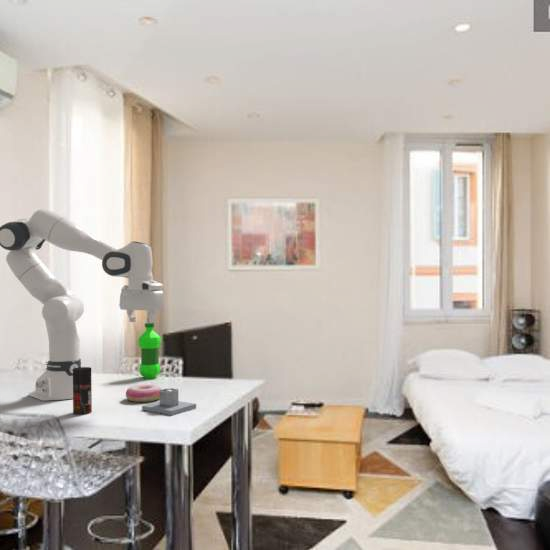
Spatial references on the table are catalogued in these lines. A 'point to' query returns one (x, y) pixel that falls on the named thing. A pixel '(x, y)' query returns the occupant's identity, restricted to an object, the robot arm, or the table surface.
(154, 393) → the donut
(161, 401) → the ring
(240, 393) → the table surface
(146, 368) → the plastic bottle
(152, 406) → the shaft block
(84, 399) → the deodorant
